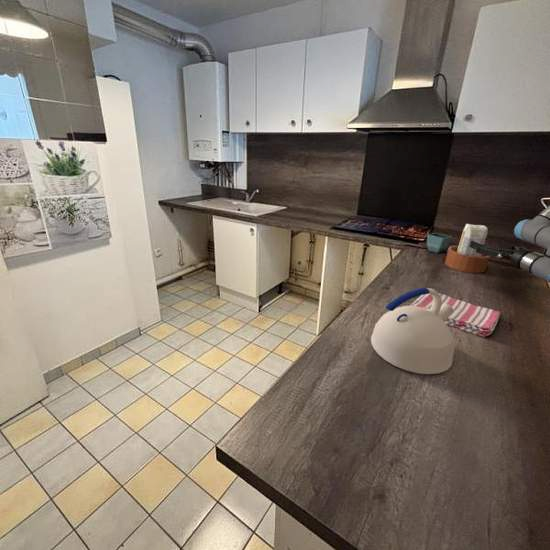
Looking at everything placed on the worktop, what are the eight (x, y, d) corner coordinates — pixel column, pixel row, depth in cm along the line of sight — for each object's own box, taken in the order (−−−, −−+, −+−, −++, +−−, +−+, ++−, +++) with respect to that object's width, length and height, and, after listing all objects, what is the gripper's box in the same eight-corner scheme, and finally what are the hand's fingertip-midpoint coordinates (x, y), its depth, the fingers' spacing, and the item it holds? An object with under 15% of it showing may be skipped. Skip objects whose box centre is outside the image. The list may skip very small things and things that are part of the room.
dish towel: (489, 340, 83) (493, 329, 82) (407, 309, 98) (409, 300, 96) (499, 318, 95) (502, 309, 93) (424, 294, 109) (426, 285, 108)
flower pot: (447, 252, 157) (452, 236, 154) (439, 255, 153) (443, 238, 149) (432, 247, 164) (436, 232, 160) (423, 250, 159) (427, 234, 156)
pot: (487, 266, 139) (492, 251, 136) (482, 276, 128) (488, 260, 125) (448, 257, 149) (452, 243, 146) (441, 266, 137) (445, 251, 134)
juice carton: (477, 269, 134) (490, 228, 126) (456, 266, 136) (468, 226, 128) (472, 263, 140) (485, 224, 133) (452, 261, 143) (464, 223, 135)
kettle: (472, 366, 72) (496, 303, 65) (402, 382, 67) (421, 314, 60) (415, 323, 90) (429, 269, 83) (356, 332, 84) (365, 275, 77)
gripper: (493, 270, 107) (456, 252, 126) (555, 270, 109) (509, 252, 129) (500, 251, 104) (461, 235, 123) (563, 251, 106) (515, 235, 126)
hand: (485, 243), depth 126 cm, fingers open, 13 cm apart
